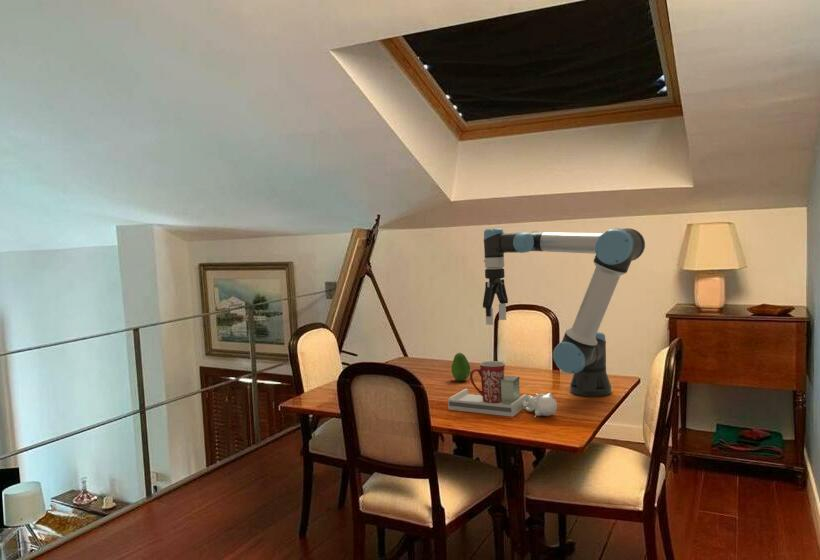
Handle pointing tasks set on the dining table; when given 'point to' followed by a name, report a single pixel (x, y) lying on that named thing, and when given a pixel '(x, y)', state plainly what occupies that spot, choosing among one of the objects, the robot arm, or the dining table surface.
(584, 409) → the dining table surface
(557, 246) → the robot arm
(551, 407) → the figurine
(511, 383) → the tea tin
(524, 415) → the dining table surface
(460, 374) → the avocado
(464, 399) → the shelf
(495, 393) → the mug
